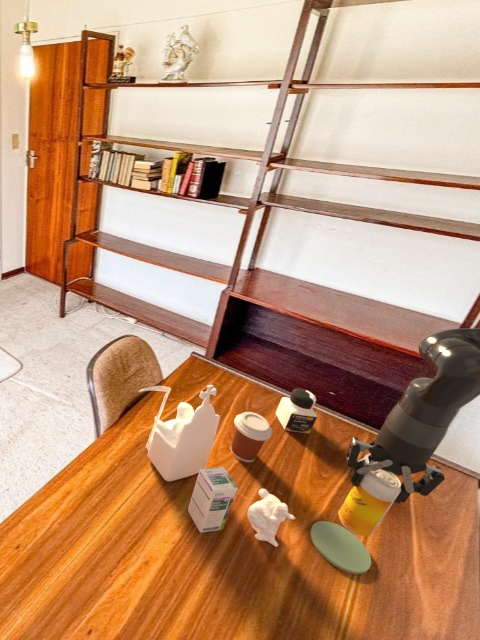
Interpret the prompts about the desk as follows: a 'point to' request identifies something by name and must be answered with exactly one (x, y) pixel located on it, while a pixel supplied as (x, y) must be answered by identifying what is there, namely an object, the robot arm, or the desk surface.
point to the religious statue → (183, 437)
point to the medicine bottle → (297, 411)
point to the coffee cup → (249, 435)
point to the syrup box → (212, 499)
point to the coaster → (340, 547)
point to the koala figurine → (267, 516)
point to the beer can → (369, 502)
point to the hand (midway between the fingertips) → (374, 491)
